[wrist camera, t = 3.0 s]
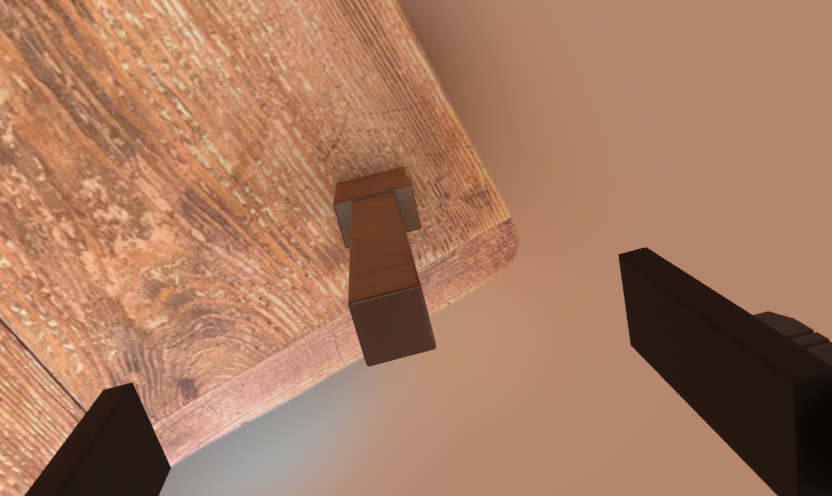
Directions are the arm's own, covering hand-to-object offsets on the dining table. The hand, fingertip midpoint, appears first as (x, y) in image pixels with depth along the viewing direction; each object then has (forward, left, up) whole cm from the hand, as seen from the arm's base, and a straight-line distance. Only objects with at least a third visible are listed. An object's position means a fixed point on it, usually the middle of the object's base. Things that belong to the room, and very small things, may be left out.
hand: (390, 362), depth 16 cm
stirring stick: (0, 0, -20) cm, 20 cm away
